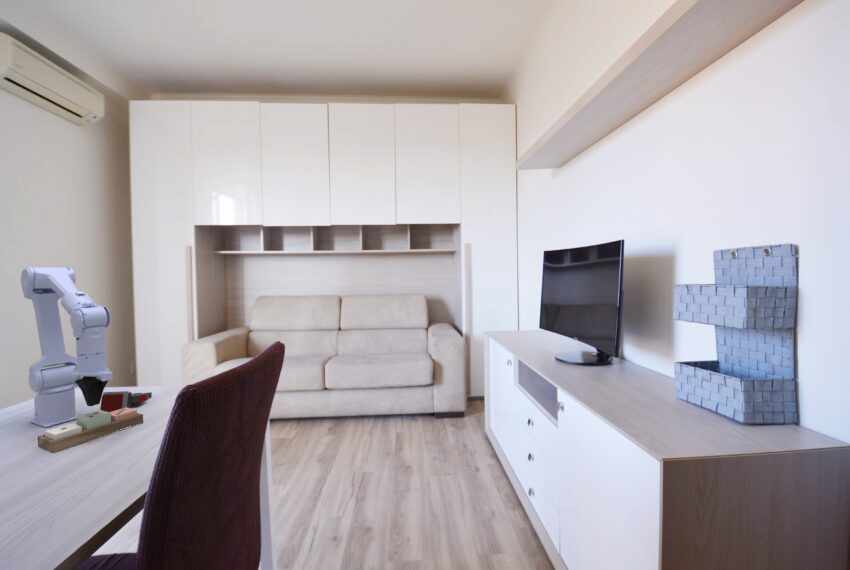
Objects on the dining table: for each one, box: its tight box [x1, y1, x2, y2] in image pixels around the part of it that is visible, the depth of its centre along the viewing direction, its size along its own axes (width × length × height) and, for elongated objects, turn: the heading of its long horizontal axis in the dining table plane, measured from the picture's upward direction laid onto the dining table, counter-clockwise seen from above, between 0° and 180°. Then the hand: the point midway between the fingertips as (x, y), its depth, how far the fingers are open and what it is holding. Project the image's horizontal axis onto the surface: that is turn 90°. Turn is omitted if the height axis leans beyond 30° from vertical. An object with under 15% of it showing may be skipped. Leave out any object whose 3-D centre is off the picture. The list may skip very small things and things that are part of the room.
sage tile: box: [76, 409, 111, 431], centre depth 94 cm, size 5×5×4 cm
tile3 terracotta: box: [109, 407, 138, 422], centre depth 100 cm, size 5×5×4 cm
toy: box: [99, 390, 153, 412], centre depth 115 cm, size 9×6×15 cm
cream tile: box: [44, 422, 82, 441], centre depth 89 cm, size 5×5×4 cm
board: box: [37, 412, 144, 454], centre depth 94 cm, size 8×19×2 cm, turn 156°
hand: (93, 404), depth 94 cm, fingers closed
